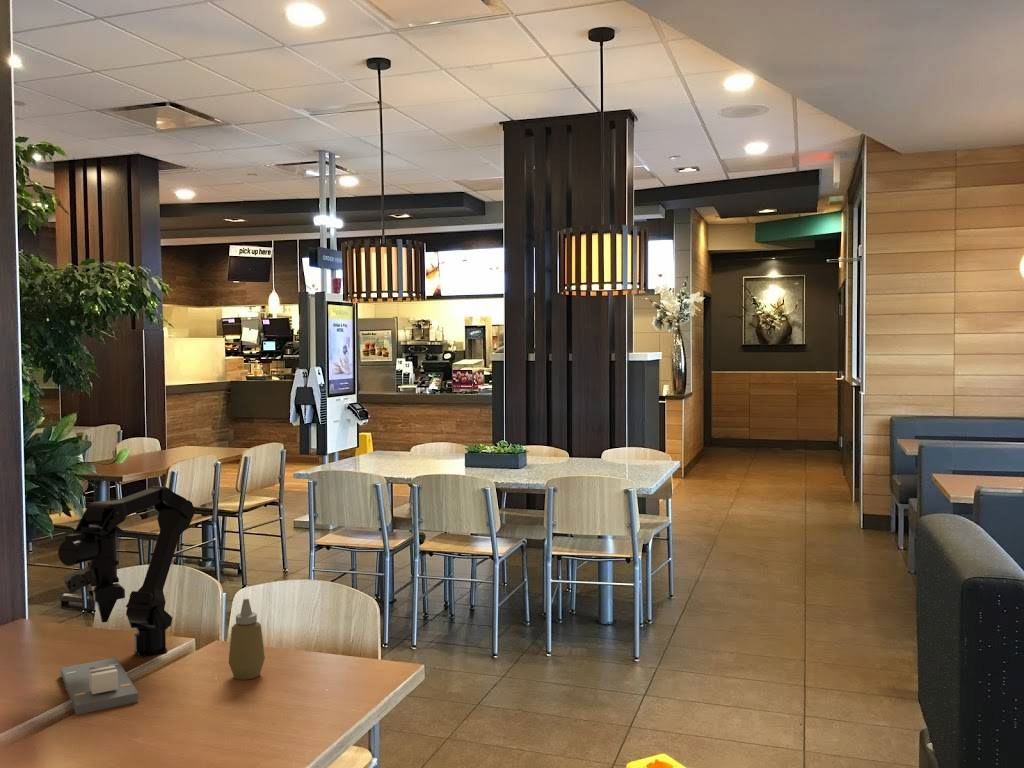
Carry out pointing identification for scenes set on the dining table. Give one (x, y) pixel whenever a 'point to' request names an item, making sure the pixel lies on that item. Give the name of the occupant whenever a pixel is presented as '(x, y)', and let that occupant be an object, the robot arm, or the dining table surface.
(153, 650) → the robot arm
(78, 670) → the plate
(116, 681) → the cap
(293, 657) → the dining table surface
